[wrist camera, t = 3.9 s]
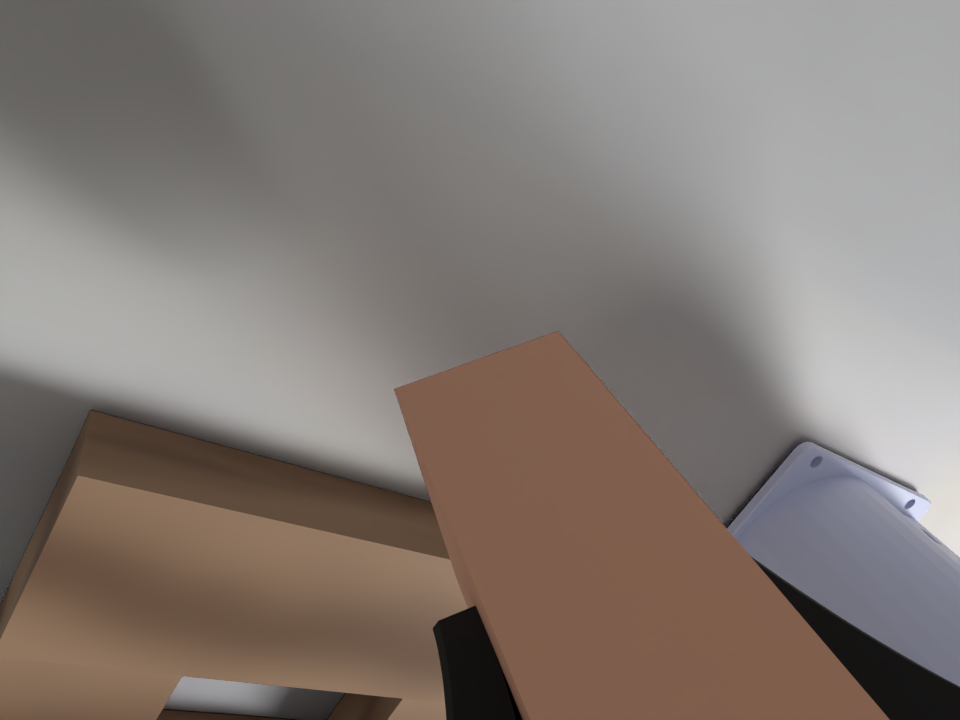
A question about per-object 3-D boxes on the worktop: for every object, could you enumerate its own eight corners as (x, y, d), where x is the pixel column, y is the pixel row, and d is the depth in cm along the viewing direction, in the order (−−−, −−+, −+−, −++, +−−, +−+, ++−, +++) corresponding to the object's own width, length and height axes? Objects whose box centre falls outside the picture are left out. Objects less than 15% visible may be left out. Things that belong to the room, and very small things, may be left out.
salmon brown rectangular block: (558, 331, 13) (931, 766, 6) (588, 524, 16) (866, 962, 9) (393, 389, 12) (614, 924, 6) (456, 578, 15) (650, 1079, 9)
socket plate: (90, 410, 18) (77, 475, 16) (573, 541, 26) (605, 594, 24) (-99, 817, 23) (-127, 907, 21) (359, 819, 31) (371, 883, 29)
